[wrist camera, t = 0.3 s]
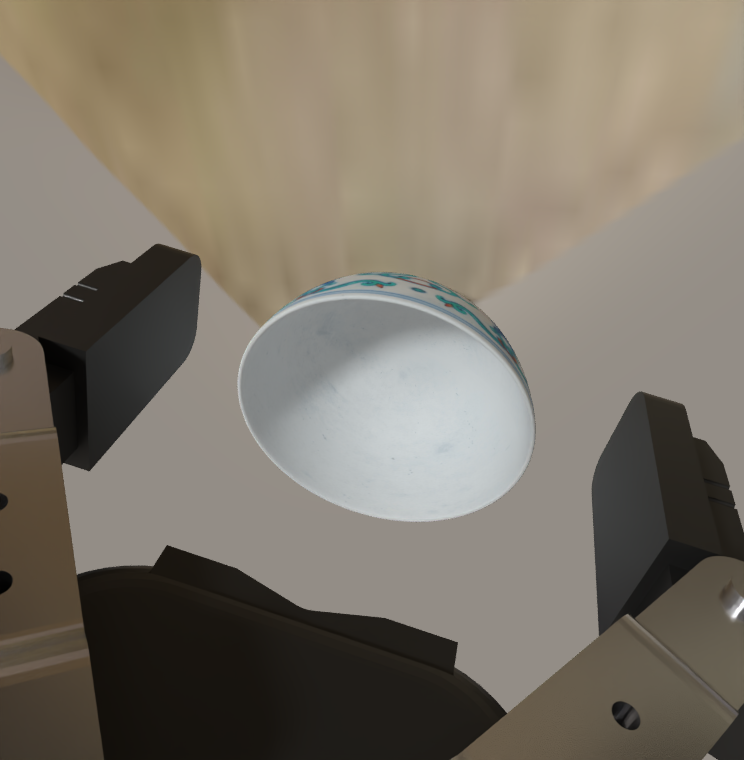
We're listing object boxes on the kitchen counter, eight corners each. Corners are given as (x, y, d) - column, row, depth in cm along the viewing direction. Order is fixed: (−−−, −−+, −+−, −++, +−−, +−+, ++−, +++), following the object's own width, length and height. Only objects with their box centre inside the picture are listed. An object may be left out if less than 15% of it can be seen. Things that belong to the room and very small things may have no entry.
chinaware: (367, 155, 34) (321, 231, 28) (605, 322, 37) (605, 422, 31) (247, 341, 44) (195, 425, 38) (442, 461, 47) (420, 556, 41)
